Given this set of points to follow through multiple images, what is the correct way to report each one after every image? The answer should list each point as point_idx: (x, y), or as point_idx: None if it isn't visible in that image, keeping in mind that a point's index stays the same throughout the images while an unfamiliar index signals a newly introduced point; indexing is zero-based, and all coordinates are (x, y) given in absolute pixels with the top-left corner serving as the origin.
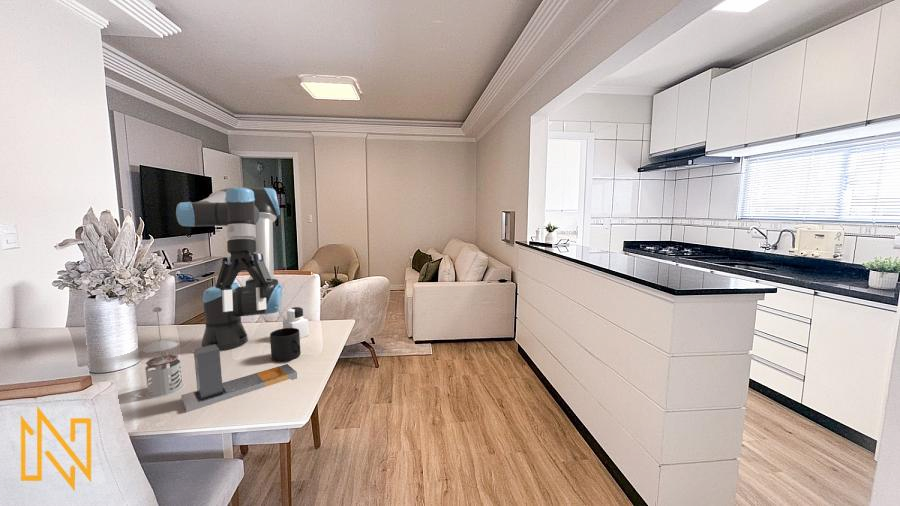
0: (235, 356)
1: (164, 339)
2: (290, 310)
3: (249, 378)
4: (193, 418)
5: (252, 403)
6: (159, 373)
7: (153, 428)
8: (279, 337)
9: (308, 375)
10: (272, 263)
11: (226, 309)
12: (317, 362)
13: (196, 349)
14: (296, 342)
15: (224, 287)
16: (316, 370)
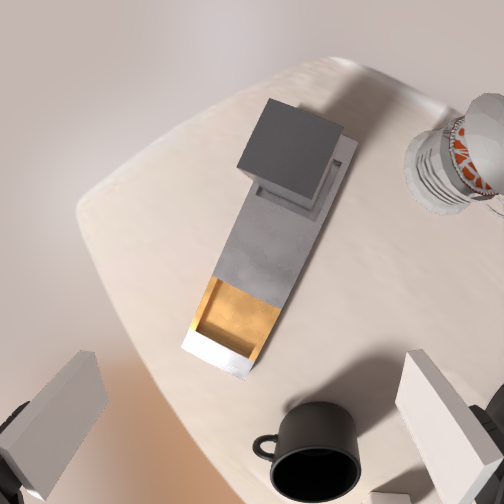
0: (453, 381)
1: None
2: None
3: (269, 277)
4: (255, 114)
5: (187, 208)
6: (443, 128)
7: (296, 66)
8: (299, 447)
9: (174, 359)
10: None
11: (410, 372)
12: (209, 421)
13: (327, 128)
14: (260, 452)
15: (499, 491)
16: (177, 385)
